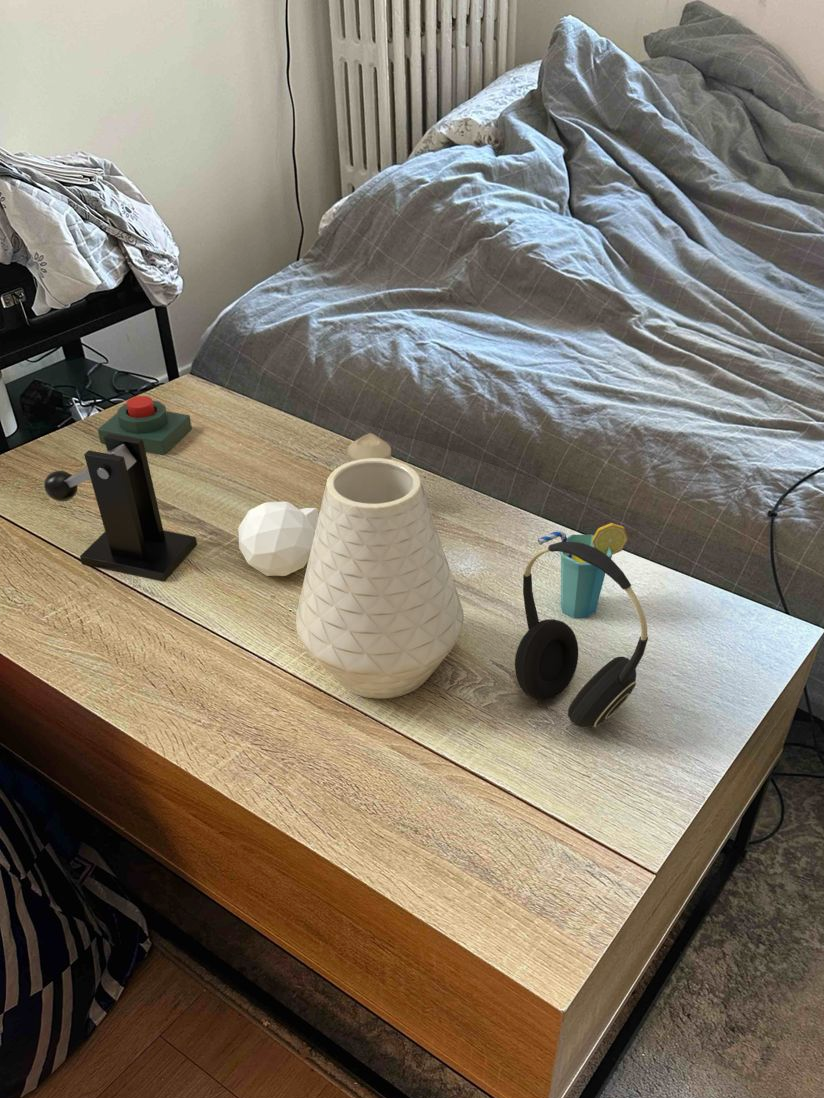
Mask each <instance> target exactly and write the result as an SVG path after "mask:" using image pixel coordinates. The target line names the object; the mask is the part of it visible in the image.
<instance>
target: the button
mask: <svg viewBox="0 0 824 1098" xmlns="http://www.w3.org/2000/svg"><path fill="white" fill-rule="evenodd" d="M153 401H154V400H153V398H152V397H150V396H147V395H137V396H133V397H131V398H129V399H128V400H126V402H125V404H126V405H127V409H128V413H129V416H130V417H135V418H143V417H148V416H151V415H153V414H154V413H155V408H154V403H153Z"/></svg>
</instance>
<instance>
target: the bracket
mask: <svg viewBox="0 0 824 1098" xmlns="http://www.w3.org/2000/svg"><path fill="white" fill-rule="evenodd" d="M104 440H105V444H104V445H105V449H106V452H107V451H109V450H111V449H113V448H115V447H117V446H120V445H122V444H124V445H125V446H126V447H127V449H128V450H129V451H130V453H131V454H132V455H133V457H134V458H135V459H136V461H137V462H136V463H135V464H134V465H133V466H131V467H130V468H129V469H128V470H127V468H126V463H125V459H124V457H122V456H117V455H112V454H106V452H101V451H96V450H90V449H89V450H87V451H86V452H85V453H83V457H84V460H85V463H86V467H87V468H88V471H89V475H90V478H91V479H90V482H91V484H92V488H93V489H92V490H93V492H94V496H95V499H96V503H97V507H98V511H99V515H100V518H101V521H102V526H103V529H104V531H103V533H102V534H101V535H100V536H98V538H97V539H95V541H93V543H91V544H90V545H89V547H88V548H87V549H85V550H84V551H83V552H82V553H81V554H80V555H79V559H80V562H81V565H83V566H89V567H93V568H98V569H103V570H108V571H113V572H118V573H123V574H127V575H132V576H137V577H142V578H146V579H152V580H155V581H161V582H166V581H167V580H168V579H169V578H170V576H171V575H172V574H174V572H175V571H176V570H177V568H178V567H180V565H181V564H182V563H183V562H184V560H185V559H187V557H188V556H189V555H190V554H191V552H192V551H193V550H194V549H195V548H196V547H197V545H198V542H197V537H196V536H194V535H190V534H189V535H188V534H185V533H178V532H173V531H168V530H164V527H163V522H162V518H161V514H160V510H159V509H160V508H159V505H158V501H157V496H156V492H155V487H154V483H153V478H152V474H151V469H150V465H149V460H148V455H147V452H146V451H145V447H144V443H143V440H142V439H137V438H131V437H126V436H120V435H115V434H109V433H108V434H107V435H106V436H105V437H104Z"/></svg>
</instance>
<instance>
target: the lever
mask: <svg viewBox="0 0 824 1098" xmlns="http://www.w3.org/2000/svg"><path fill="white" fill-rule="evenodd" d="M105 453H106V454H112V455H117V456H122V457H124V459H125V463H126V468H127V470H128V469H129V468H130V467H131V466H133V465H134V464H135V463H136V462H137V461H136V459H135V458H134V457H133V455H132V454H131V453H130V451H129V450H128V449H127V447H126V446H125V445H124V444H122V445H120V446H117V447H115V448H113V449H111V450H109V451H107V450H106V451H105ZM89 480H91V478H90V475H89V471H88V467H87V468H85V469H83V470H81V471H79V472H76V473H74V474H71V473H69V472H68V471H65V470H55V471H52V472H50V473H49V474H48V475H47V476H46V478H45V479H44V483H43V485H44V486H43V487H44V491H45V493H46V494H47V496H48V497H49V498H50V499H52V500H54V501H56V502H64V503H65V502H68V501H71V500H72V499H74V497H75V496H76V495H77V492H78V485H81V484H83V483H84V482H87V481H89Z"/></svg>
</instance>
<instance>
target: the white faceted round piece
mask: <svg viewBox="0 0 824 1098" xmlns="http://www.w3.org/2000/svg"><path fill="white" fill-rule="evenodd" d="M318 517H319V512H318V508H317V507H308V508H307V507H305V508H300V509H299V508H297V507H296V506H294V505H293V504H292V503H290V502H288V501H266V502H263V503H261V504H259V505H257V506H255V507H253V508H251V509H249V510H248V512H247V513H246V515H245V516H244V518H243V519H242V521H241V522H240V524H239V525H238V527H237V528H238V529H237V530H238V548H239V550H240V552H241V553H242V556H243V558H244V559H245V561H246V562H247V564H248V565H250V566H251V567H252V568H254V569H255V570H257V571H258V572H260V573H262V574H263V575H265V576H266V577H286V576H288V575H290V574H292V573H294V572H297V571H299V570H301V569H303V568H304V567H305V566H307V564H308V561H309V556H310V552H311V548H312V543H313V539H314V535H315V530H316V526H317V522H318Z"/></svg>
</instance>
